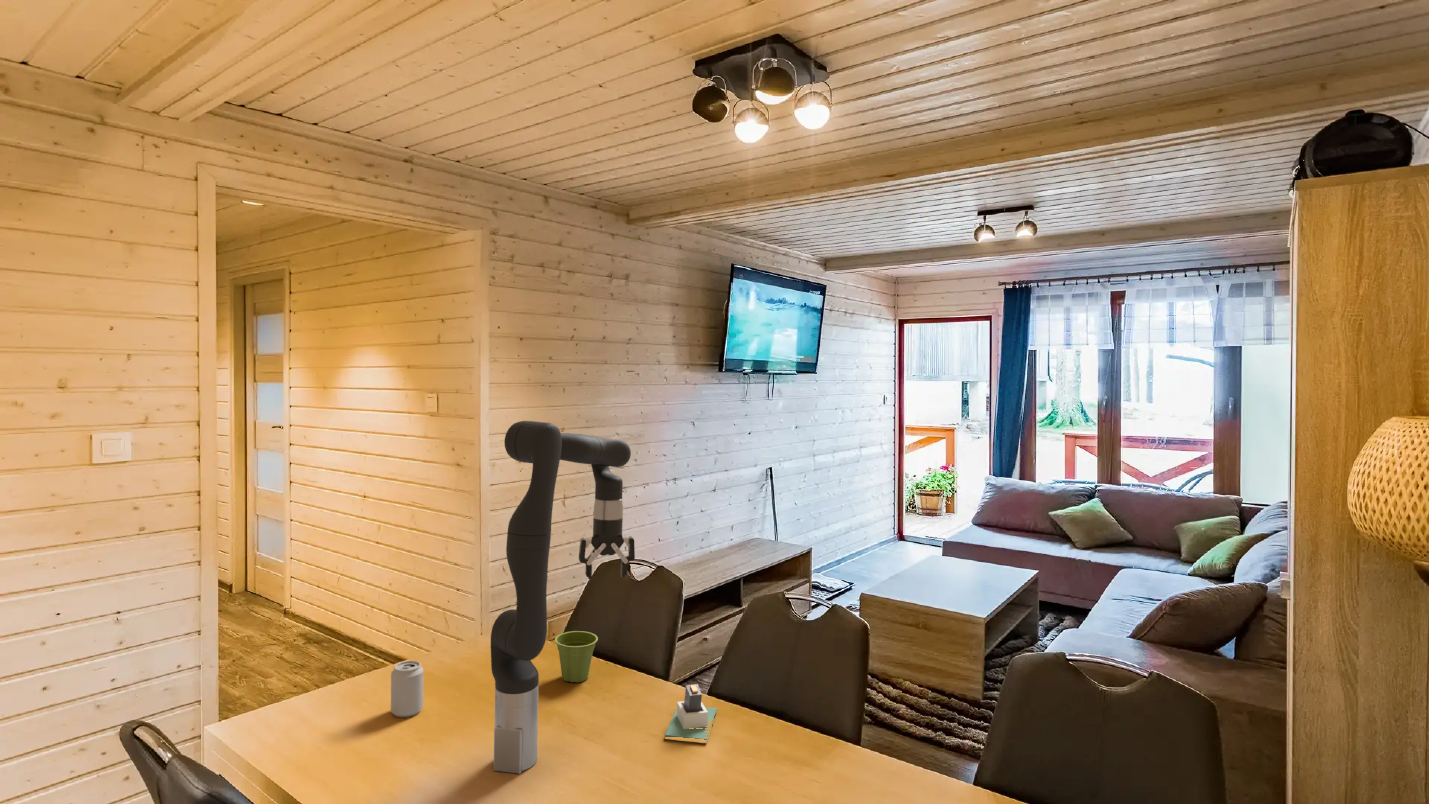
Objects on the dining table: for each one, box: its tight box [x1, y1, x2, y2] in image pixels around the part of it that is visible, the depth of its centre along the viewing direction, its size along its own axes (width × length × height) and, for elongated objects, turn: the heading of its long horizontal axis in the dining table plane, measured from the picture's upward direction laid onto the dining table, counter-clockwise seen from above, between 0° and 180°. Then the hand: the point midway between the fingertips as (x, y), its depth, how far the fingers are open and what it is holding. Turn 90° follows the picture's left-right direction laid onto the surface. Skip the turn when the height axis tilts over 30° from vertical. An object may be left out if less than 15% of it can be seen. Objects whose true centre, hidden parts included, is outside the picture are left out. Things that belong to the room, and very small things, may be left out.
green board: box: [664, 706, 718, 740], centre depth 179 cm, size 16×10×1 cm, turn 171°
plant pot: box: [554, 630, 599, 683], centre depth 204 cm, size 12×12×11 cm
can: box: [390, 660, 424, 718], centre depth 182 cm, size 8×8×12 cm
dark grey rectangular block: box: [683, 683, 703, 713], centre depth 179 cm, size 4×3×8 cm
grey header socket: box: [676, 700, 708, 729], centre depth 179 cm, size 7×6×4 cm
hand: (606, 577), depth 189 cm, fingers open, 8 cm apart
